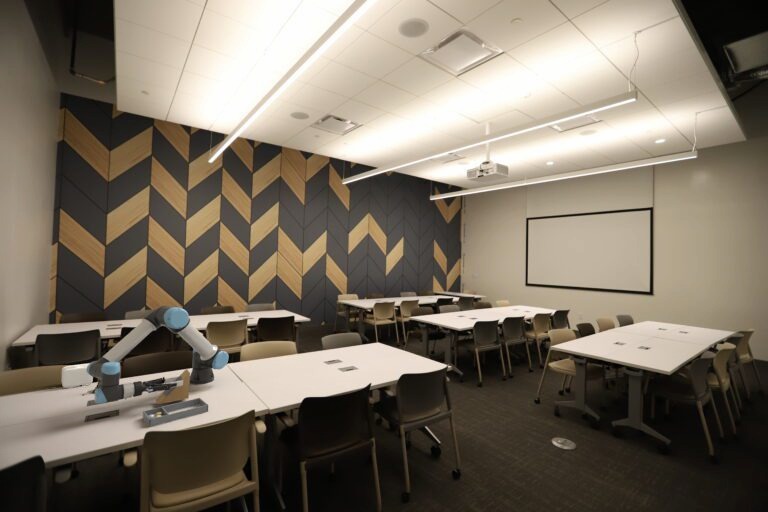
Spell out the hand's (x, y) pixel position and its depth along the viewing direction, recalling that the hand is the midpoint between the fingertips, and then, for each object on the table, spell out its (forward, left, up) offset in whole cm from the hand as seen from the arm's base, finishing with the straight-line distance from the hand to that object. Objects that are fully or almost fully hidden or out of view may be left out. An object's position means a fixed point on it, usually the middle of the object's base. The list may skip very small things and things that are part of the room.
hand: (180, 380), depth 203 cm
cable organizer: (+39, -68, -12) cm, 79 cm away
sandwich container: (+4, -1, -10) cm, 10 cm away
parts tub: (+7, +18, -12) cm, 22 cm away
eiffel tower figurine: (+30, -46, -12) cm, 56 cm away
